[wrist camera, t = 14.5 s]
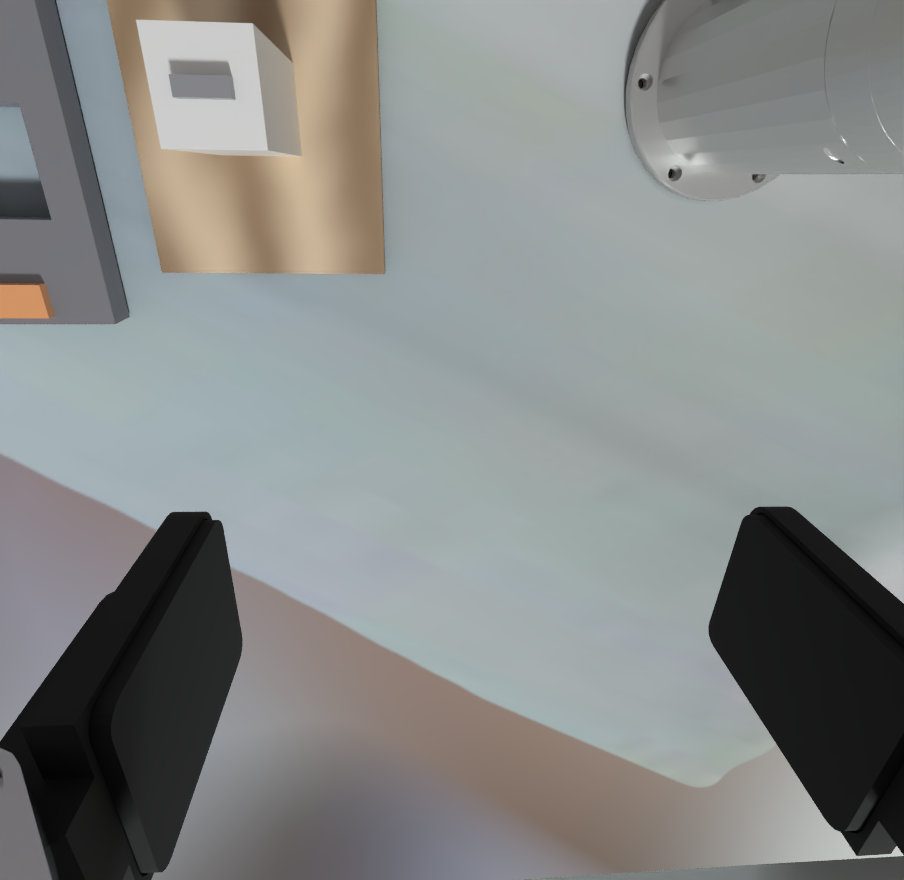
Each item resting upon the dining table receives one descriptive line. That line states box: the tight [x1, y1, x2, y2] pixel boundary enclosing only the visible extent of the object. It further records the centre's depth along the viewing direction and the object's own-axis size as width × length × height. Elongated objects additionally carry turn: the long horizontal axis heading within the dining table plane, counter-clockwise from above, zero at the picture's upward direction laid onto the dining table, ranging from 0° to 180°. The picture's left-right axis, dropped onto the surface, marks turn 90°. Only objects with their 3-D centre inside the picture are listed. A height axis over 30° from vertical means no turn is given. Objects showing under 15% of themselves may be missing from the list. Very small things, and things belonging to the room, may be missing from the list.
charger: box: [136, 20, 302, 157], centre depth 27 cm, size 5×5×10 cm
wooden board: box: [107, 0, 385, 274], centre depth 32 cm, size 14×18×1 cm
